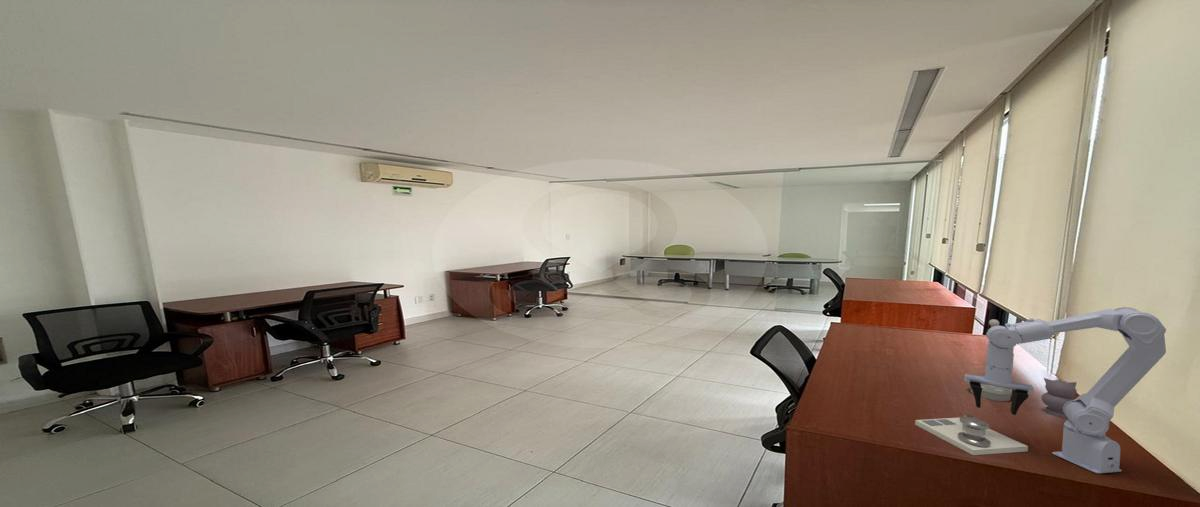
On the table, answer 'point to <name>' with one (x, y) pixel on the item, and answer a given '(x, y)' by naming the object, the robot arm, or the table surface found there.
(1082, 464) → the robot arm
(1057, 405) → the grey wavy vase
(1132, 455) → the table surface
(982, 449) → the stand
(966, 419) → the capstan
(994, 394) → the flag stand
